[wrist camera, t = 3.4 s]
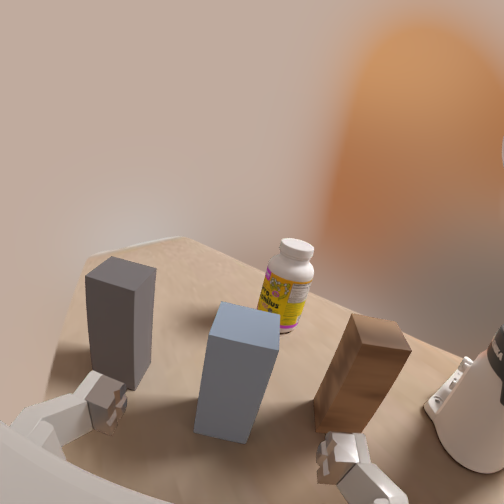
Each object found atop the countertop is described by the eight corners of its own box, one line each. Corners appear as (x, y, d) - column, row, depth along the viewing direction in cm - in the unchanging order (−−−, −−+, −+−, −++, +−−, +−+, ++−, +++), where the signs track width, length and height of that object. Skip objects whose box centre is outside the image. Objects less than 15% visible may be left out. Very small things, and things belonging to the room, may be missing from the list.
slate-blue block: (204, 397, 30) (221, 301, 26) (250, 407, 30) (280, 314, 26) (193, 432, 25) (208, 334, 21) (245, 444, 25) (278, 350, 21)
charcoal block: (112, 349, 33) (111, 256, 29) (150, 362, 33) (156, 268, 29) (93, 375, 28) (85, 275, 24) (135, 390, 28) (134, 291, 24)
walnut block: (313, 399, 33) (351, 313, 28) (352, 404, 32) (396, 321, 28) (315, 432, 28) (362, 343, 24) (359, 435, 28) (411, 350, 24)
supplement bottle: (247, 311, 48) (265, 233, 44) (283, 309, 52) (303, 236, 47) (266, 337, 43) (290, 252, 39) (304, 332, 46) (330, 254, 42)
